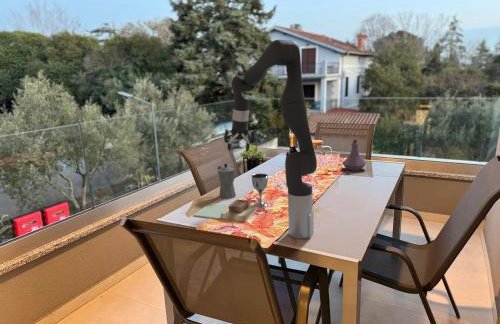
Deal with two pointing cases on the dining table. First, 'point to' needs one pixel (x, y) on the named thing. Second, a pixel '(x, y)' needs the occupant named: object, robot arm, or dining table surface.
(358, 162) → the flask
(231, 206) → the brown rectangular block
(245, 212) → the board
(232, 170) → the coffeepot
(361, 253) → the dining table surface
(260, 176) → the wine glass
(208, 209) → the mat
